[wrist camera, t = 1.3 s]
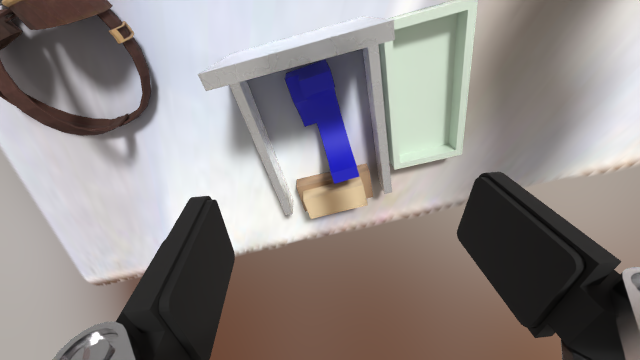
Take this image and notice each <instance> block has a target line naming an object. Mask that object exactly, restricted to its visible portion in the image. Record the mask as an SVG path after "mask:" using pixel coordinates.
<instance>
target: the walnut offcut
mask: <svg viewBox="0 0 640 360" xmlns="http://www.w3.org/2000/svg"><path fill="white" fill-rule="evenodd" d="M357 169H358V173H359V176H360V177H361V180H362V183H363V186H364V191H365V195H366V198H370V197H373V192H372V186H371V179H370V172H369V169H368V166H367V164H362V165H358V166H357ZM333 183H334V181H333V178H332V175H331V172H327V173H323V174H319V175H314V176H310V177H306V178H301V179H297V190H298V193H299V196H300V198H301V201H302V204H303V207H304V209H305V211H307V208H306V206H305V204H304V201H303V191H306V190H310V189H313V188H317V187H321V186H325V185H329V184H333Z"/></svg>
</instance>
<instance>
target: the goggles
mask: <svg viewBox="0 0 640 360" xmlns="http://www.w3.org/2000/svg"><path fill="white" fill-rule="evenodd" d="M1 5H4V6H7V7H9V8H8V9H3V10H0V50H1V49H3V48H4V47H6V46H7V45H8V44H10V43H11V42H12V41H13V40H15V39H16V38H17V37H19V36H20V35H21V33H22V32H23V31H22V30H21V29H19V28H18V27H17V26H16V25H15V24H14V23H13V22H11V21H10V20H12V19H14V18H16V17H18V18H19V19H20V20H21V21H22V22H23V23H24V24H25V25H26V26H27V27H28V28H29V29H30V30H40V29H46V28H52V27H56V26H61V25H65V24H69V23H72V22H76V21H79V20H82V19H86V18H88V17H91V16H94V15H98V16H99V17H100V18H101V19H102V20H103V21H104V22H105V23H106V25H107V26H108V27H109V28H110V29H111V30H109V31H108V32H109V33H110V34H111V35H112V36H113V37H114V38H115V39H116V41H117V42H118V44H120V43H123V45H124V46H125V48H126V49H127V51H128V52H129V53H130V55H131V56H132V58H133V61H134V63H135V65H136V68H137V70H138V72H139V75H140V78H141V85H142V93H143V94H142V99H141V103H140V106H139V108H138V109H137V110H136V111H134V112H132V113H131V114H129V115H128V114H126V115H124V116H121V117H117V118H116V119H92V118H87V117H82V116H77V115H72V114H69V113H67V112H64V111H61V110H58V109H56V108H53V107H50V106H48V105H46V104H44V103H42V102H40V101H38V100H36V99H34V98H32V97H30V96H29V95H27V94H25V93H24V92H22V91H21V90H20V89H19V88H18V86H17V85H16V84H15V82H14V81H13V80H12V78H11V77H10V76H9V74H8V73H7V72H6V70H5V69H4V67H3V64H2V62H1V60H0V97H2V98H3V99H5V100H6V101H8V102H10V103H11V104H13V105H15V106H17V107H18V108H19V109H20V110H21V111H22V112H24V113H26V114H27V115H29V116H30V117H32V118H34V119H35V120H37V121H39V122H40V123H42V124H44V125H46V126H49V127H51V128H54V129H56V130H59V131H62V132H64V133H70V134H76V135H81V136H83V135H98V134H103V133H105V132H108V131H111V130H113V129H115V128H117V127H119V126H122V125H125V124H127V123H129V122H130V121H132V120H134V119H136V118H138V117H139V116H140V115H141V113H142V112H143V111H144V110H145V108H146V107H147V105H148V102H149V98H150V94H151V85H150V75H149V68H148V66H147V63H146V60H145V58H144V55H143V53H142V50H141V48H140V47H139V45H138V44H137V42H136V41H135V39H134V38H133V35H134V32H133V31H132V29H131V28H130V27H129V25H128V24H127V23H126V22H125V21H123V22H121V20H120V19H119V18H118V17H117V16H116V15H115V14H114V13H113V12H112V11H111V10H110V8H111V7H112V5H111V4H110V3H109V2H108V1H107V0H0V6H1ZM11 14H13V15H12V16H11V17H9V18H7V17H6V15H11ZM92 129H95V130H92Z"/></svg>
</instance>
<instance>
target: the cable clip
mask: <svg viewBox="0 0 640 360" xmlns="http://www.w3.org/2000/svg"><path fill="white" fill-rule="evenodd" d="M285 81H286V84H287V86H288V89H289V92H290V94H291V97H292V99H293V102H294V104H295V106H296V108H297V110H298V112H299V114H300V116H301V119H302V121H303V124H304V126H305V127H306V126H309V125H312V124H315V123H317V125H318V128H319V131H320V134H321V138H322V141H323V144H324V148H325V151H326V155H327V158H328V162H329V167H330V171H331V175H332V178H333V181H334V184H336V183H339V182H343V181H346V180H349V179H353V178H356V177H360V176H359V173H358V169H357V166H356V163H355V160H354V156H353V153H352V150H351V147H350V144H349V140H348V137H347V134H346V130H345V127H344V123H343V120H342V116H341V113H340V109H339V105H338V101H337V97H336V93H335V89H334V87H335V85H334V81H333V78H332V74H331V71H330V68H329V66H328V64H327V62H326V60H322V61H319V62H316V63H313V64H311V65H308V66H305V67H302V68H300V69H297V70H294V71H291V72H288V73H286V76H285Z"/></svg>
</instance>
